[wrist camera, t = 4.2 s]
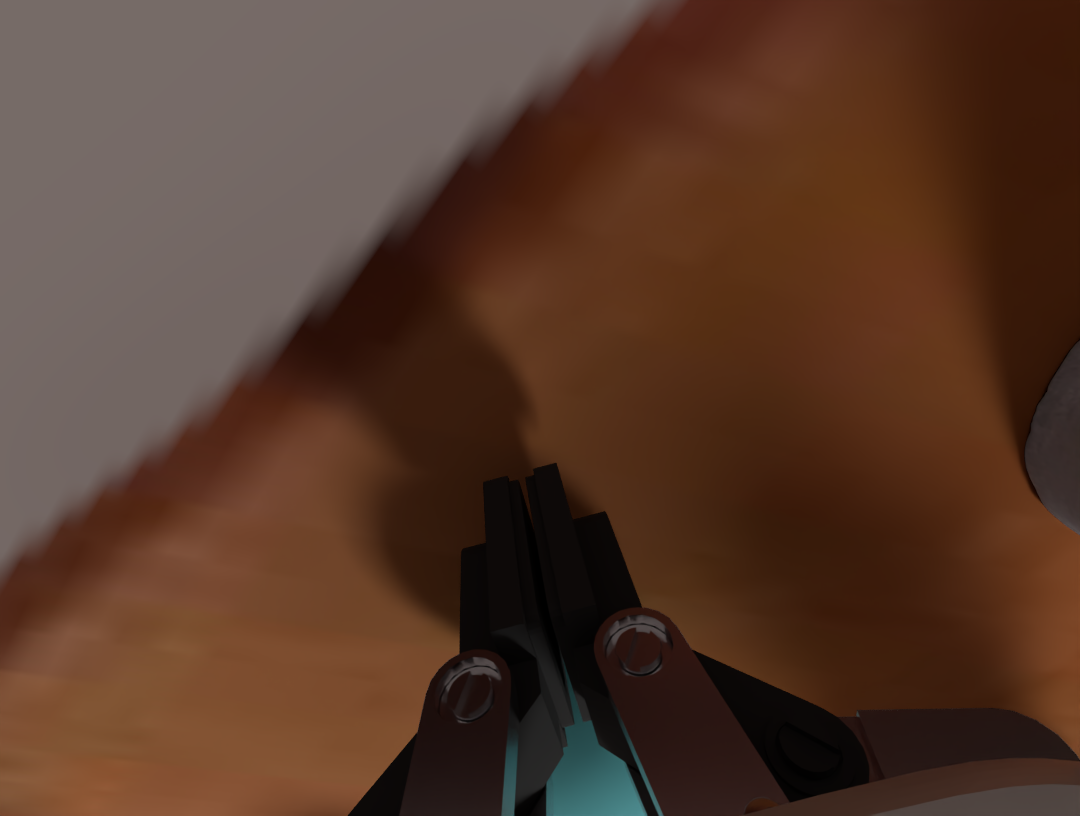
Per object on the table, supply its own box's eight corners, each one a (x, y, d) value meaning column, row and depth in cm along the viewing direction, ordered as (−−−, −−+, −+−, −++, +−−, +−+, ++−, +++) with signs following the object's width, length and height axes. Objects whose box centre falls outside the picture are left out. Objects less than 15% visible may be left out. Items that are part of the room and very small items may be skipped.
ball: (646, 523, 14) (744, 729, 9) (672, 652, 16) (759, 868, 11) (447, 579, 14) (437, 816, 9) (505, 700, 16) (521, 936, 12)
